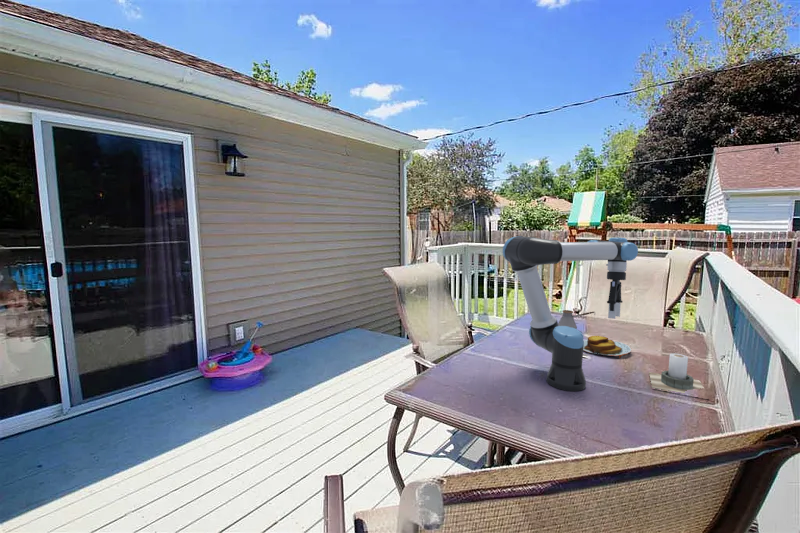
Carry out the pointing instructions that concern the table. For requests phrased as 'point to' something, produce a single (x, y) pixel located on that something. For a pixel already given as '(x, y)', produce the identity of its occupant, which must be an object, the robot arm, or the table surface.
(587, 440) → the table surface
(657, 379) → the roll holder
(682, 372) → the paper roll
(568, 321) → the coffee pot
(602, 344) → the food on plate
